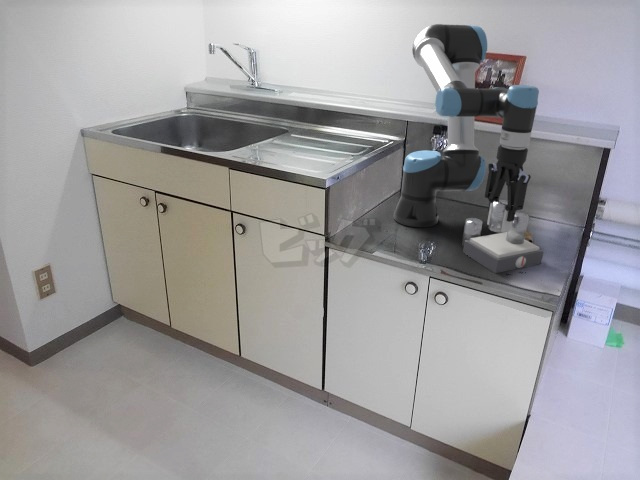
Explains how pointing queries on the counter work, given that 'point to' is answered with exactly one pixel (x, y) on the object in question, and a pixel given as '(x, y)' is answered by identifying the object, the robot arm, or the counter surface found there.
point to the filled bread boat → (528, 237)
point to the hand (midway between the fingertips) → (498, 227)
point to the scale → (502, 252)
